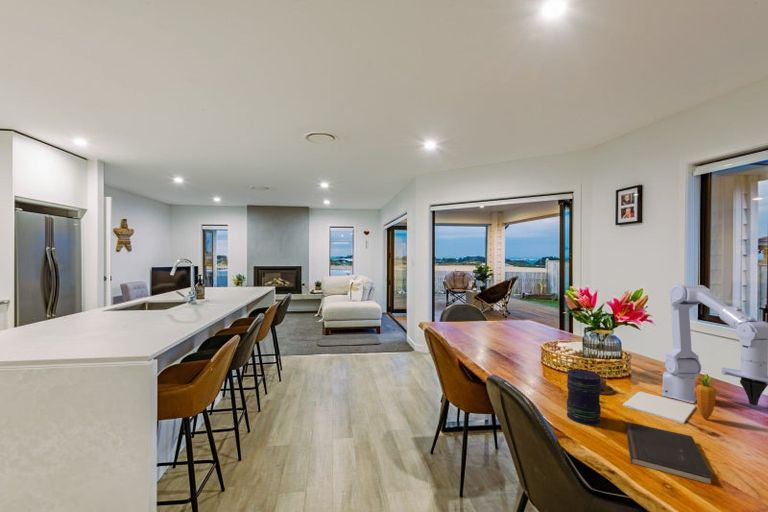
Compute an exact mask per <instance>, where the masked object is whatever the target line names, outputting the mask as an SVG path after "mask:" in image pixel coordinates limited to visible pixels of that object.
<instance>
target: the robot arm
mask: <svg viewBox="0 0 768 512" xmlns="http://www.w3.org/2000/svg"><path fill="white" fill-rule="evenodd" d="M669 298H670V299H669V300H670V314H671V329H672V333H671V334H672V349H670V350H669V351H667V352H666V353H665V361H664V367H665V369H666V371H664V372H663V374H662V386H661V387H662V390H661V391H662V392H661V393H662V394H661V397H664V398H668V399H672V400H676V401H680V402H684V403H688V404H689V403H690V404H695V403H696V402H697V396H696V395H695V394H696V393H695V390H696V378H697V377H698V375H700V373H701V372H702V365H701V362H700V360H699V359H700V358H699V355H697V353H696V352H694V351H693V350H692V338H691V336H692V335H691V334H692V333H691V323H690V322H691V321H690V309H692V308H693V307H695V306H696V305H699V304H703V305H705V306H706V307H708V308H709V309H711V310H713V311H715V312H716V313H718V314H719V315H718V316H719V319H720V320H721V321H722V322H724V323H725V324H727V325H729V327H731V329H732V328H733V329H734V331H735V333H736V335H737V337H738V339H739V340H738V341H739V343H740V347H741V348H740V369H735V368H729V367H722V368H721V375H724V376H730V377H734V378H739V379H740V380H739V384H740V385H741V386H742V388H743V390H744V392H745V394H746V395H747V400H748V404H749V405H752V406H758V404H759V400H760V398H761V396H762V394H763V393H764V391H765V389H767V387H768V322H767V321H761V320H760V321H759V320H757V319H756V318H755V317H753V316H750V315H749V314H748V313H746V312H744V311H743V309H742V308H741V307H739V306H733V305H732V306H729V305H727V304H726V303H725V302H724V301H722V300H721V299H720V298H718V297H717V296H716V295H715V294H714V293H712V291H711V289H710V288H707V286H705V285H702V284H699V285H696V284H695V285H693V284H690V285H689V284H686V285H685V284H683V285H681V284H675V285H674V286H672V287H671V288H670V290H669Z"/></svg>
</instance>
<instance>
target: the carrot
mask: <svg viewBox="0 0 768 512" xmlns="http://www.w3.org/2000/svg"><path fill="white" fill-rule="evenodd" d="M703 375H704V377H703V379H702V377H700V376H697V377H696V379H698V380H699V381H700V382H701V384H698V385H697V386H696V387H695V390H696V393H695V394H696V395H695V396H696V397H697V400H696V402H697V408H698V411H699V412H700V414H701V416H702V418H703V419H704V420H705V421H706V420H708V419H709V418H710V417H711V416H712V414H713V411H714V409H715V405H716V401H717V400H716V399H717V398H716V397H717V390H716V388H715V387H713V386H711V385H710V383H711V382H712V379H713V378H712V377H710V376H709V374H707V373H704V374H703Z"/></svg>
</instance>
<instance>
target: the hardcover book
mask: <svg viewBox="0 0 768 512" xmlns="http://www.w3.org/2000/svg"><path fill="white" fill-rule="evenodd" d="M625 430H626V437H627V445H628V451H629V458H630V459H629V460H630V464H634V465H638V466H641V467H646V468H648V469H649V468H650V469H653V470H656V471H660V472H664V473H668V474H671V475H674V476H679V477H683V478H686V479H689V480H690V479H691V480H694V481H698V482H701V483H704V484H705V483H706V484H708V485H712V480H714V477H713V475H712V473H711V471H710V469H709V467H708V465H707V464H706V463H707V462H706V461H705V459H704V457H703V455H702V454H701V451H700V449H699V448H698V445H697V443H696V442H695V439H694V437H693V436H692V435H689V434H683V433H678V432H674V431H670V430H665V429H660V428H657V427H652V426H647V425H644V424H639V423H634V422H629V421H628V422H626V423H625Z"/></svg>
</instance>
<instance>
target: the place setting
mask: <svg viewBox="0 0 768 512" xmlns="http://www.w3.org/2000/svg"><path fill="white" fill-rule="evenodd" d="M600 381H601V394H600V396H608V395H612V394H613V393H614V387H611V385H608V384H607V379H605V378H602V377H601V380H600ZM603 390H609V391H603ZM601 399H603V400H605V398H603V397H601Z"/></svg>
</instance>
